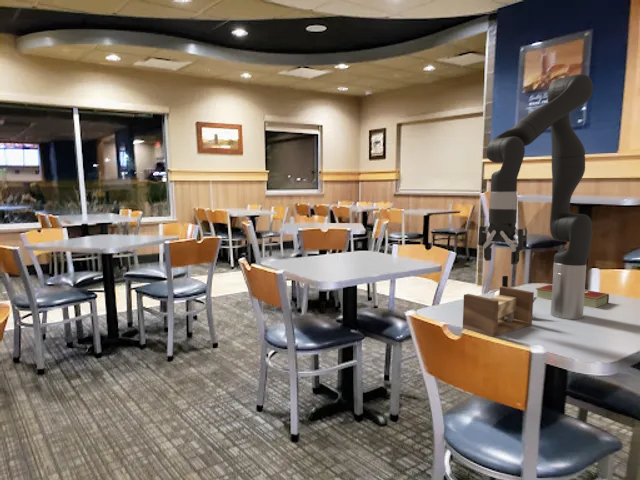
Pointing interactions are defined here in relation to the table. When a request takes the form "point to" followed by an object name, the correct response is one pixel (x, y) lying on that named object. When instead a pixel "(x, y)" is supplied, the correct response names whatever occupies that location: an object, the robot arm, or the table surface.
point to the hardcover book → (590, 297)
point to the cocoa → (504, 284)
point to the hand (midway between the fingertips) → (500, 262)
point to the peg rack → (484, 312)
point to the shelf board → (505, 305)
